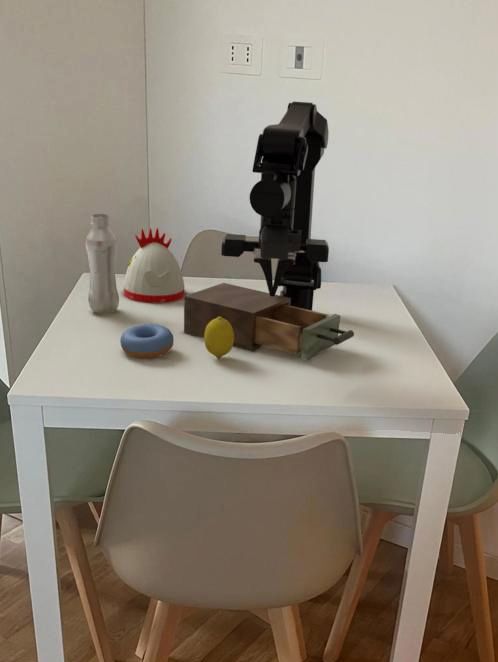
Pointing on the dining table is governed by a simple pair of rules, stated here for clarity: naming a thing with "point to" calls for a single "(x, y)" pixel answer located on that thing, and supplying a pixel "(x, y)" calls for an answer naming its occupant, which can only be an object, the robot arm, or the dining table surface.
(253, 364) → the dining table surface
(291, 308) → the drawer
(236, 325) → the cabinet
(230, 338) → the lemon
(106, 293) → the plastic bottle
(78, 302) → the dining table surface
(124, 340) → the doughnut
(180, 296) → the kitchen timer
